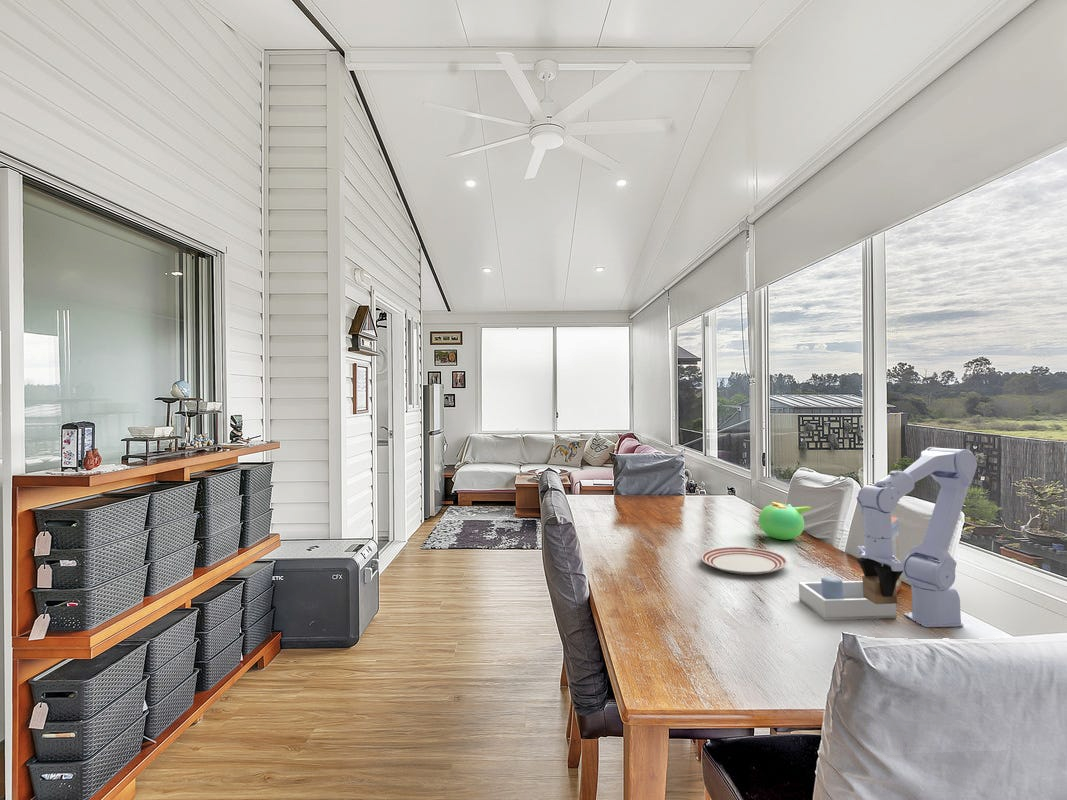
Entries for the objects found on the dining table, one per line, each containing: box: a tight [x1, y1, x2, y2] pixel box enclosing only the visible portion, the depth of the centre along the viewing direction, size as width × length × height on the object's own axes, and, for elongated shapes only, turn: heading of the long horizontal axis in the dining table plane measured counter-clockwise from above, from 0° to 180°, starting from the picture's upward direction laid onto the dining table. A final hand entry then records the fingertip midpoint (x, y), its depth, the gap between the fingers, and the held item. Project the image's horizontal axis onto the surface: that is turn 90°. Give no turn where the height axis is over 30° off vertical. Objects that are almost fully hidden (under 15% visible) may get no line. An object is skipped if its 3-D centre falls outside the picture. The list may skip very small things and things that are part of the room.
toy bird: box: [758, 501, 812, 541], centre depth 218 cm, size 18×17×15 cm
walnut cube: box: [861, 576, 898, 605], centre depth 132 cm, size 5×5×5 cm
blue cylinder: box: [820, 576, 843, 599], centre depth 146 cm, size 5×5×7 cm
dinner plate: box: [700, 546, 788, 576], centre depth 185 cm, size 28×27×3 cm
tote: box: [798, 580, 897, 621], centre depth 146 cm, size 18×14×5 cm
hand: (880, 592), depth 132 cm, fingers closed on walnut cube, 5 cm apart
